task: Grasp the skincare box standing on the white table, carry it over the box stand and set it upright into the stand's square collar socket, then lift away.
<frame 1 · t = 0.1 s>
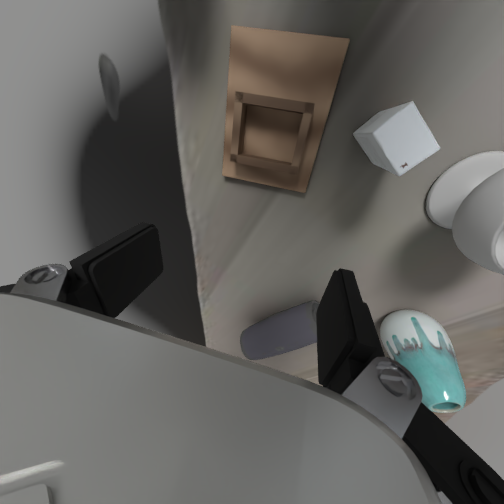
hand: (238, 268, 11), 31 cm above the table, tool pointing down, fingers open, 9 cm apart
chalice: (470, 193, 32), on the table
bluetooth speaker: (284, 315, 56), on the table
vase: (403, 320, 47), on the table
skincare box: (374, 138, 31), on the table
box stand: (274, 121, 33), on the table
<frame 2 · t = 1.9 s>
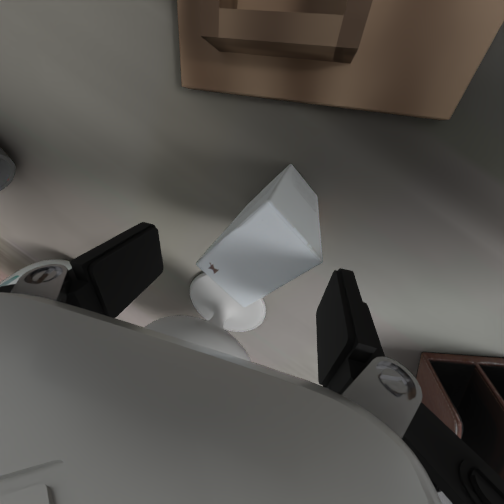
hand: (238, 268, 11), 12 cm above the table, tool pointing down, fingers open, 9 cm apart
letter holder: (452, 396, 29), on the table
chalice: (227, 301, 31), on the table
vase: (82, 276, 38), on the table
skincare box: (282, 199, 21), on the table
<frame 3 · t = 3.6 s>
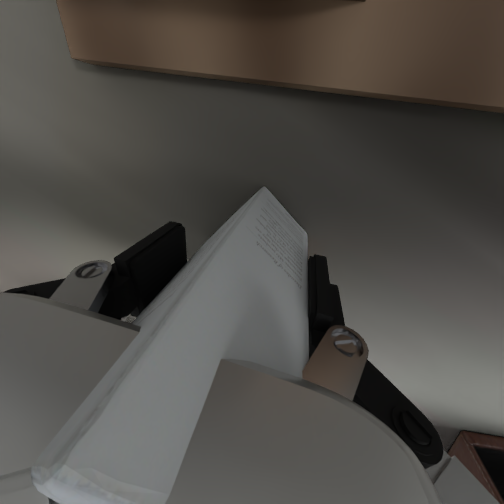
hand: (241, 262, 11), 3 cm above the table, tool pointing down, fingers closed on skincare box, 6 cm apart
letter holder: (489, 475, 22), on the table
skincare box: (256, 235, 14), on the table, touching gripper
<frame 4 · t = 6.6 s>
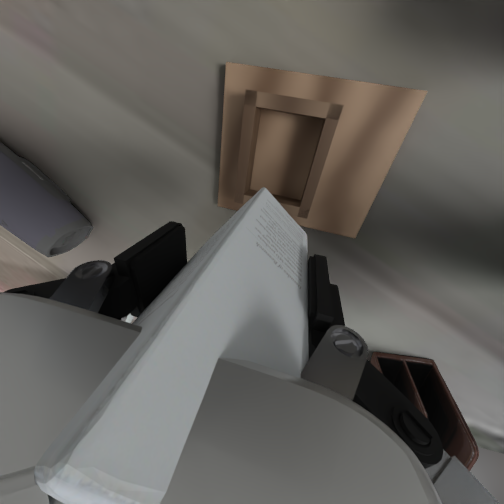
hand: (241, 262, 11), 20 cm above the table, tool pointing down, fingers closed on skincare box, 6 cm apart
letter holder: (389, 381, 43), on the table
bluetooth speaker: (47, 183, 37), on the table
skincare box: (256, 236, 14), point 16 cm above the table, touching gripper
box stand: (299, 160, 25), on the table
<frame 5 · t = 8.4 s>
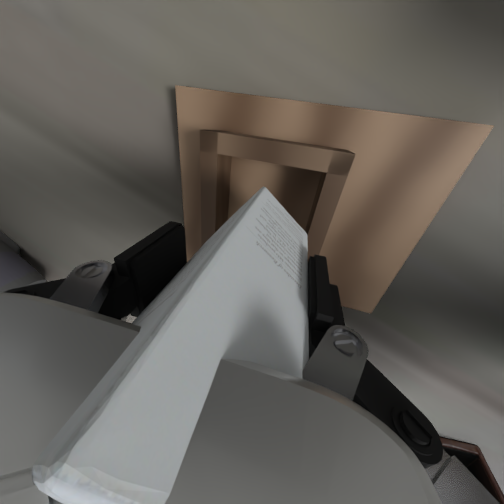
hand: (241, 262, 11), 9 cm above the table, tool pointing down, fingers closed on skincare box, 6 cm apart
letter holder: (414, 456, 35), on the table
skincare box: (256, 235, 14), point 6 cm above the table, touching gripper
box stand: (290, 213, 18), on the table
when the fingers open (6 cm above the table, at t = 9.9 s): skincare box drops 1 cm, resting on box stand.
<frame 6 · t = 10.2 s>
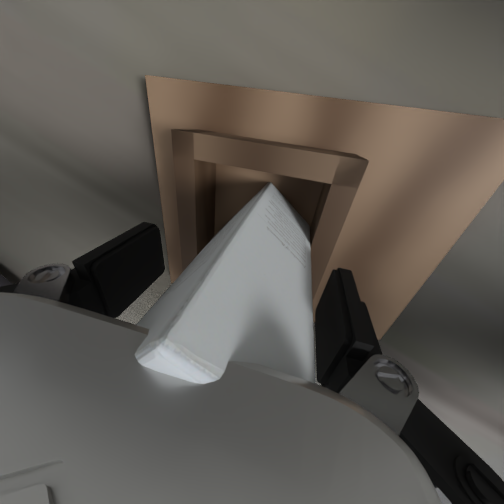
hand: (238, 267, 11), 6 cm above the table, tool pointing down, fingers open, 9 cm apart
skincare box: (262, 228, 15), point 1 cm above the table, touching box stand
box stand: (287, 227, 16), on the table
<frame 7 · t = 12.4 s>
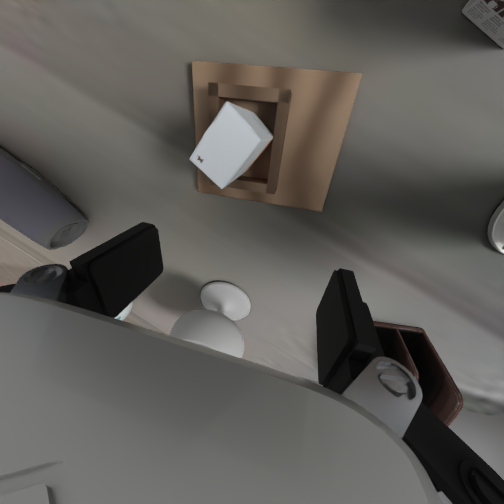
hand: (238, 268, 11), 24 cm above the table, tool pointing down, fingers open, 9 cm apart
letter holder: (379, 352, 45), on the table
chalice: (225, 300, 47), on the table
bluetooth speaker: (44, 184, 41), on the table
skincare box: (251, 142, 28), point 1 cm above the table, touching box stand
box stand: (265, 143, 29), on the table
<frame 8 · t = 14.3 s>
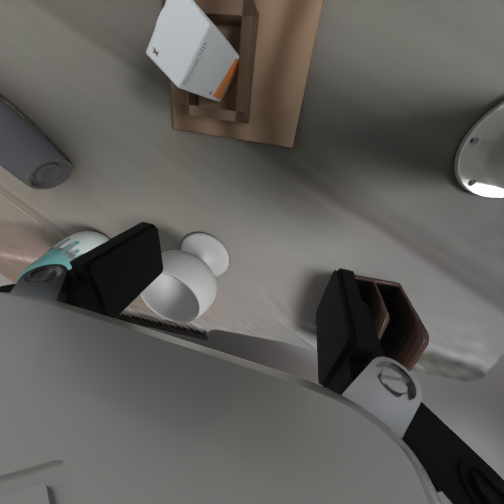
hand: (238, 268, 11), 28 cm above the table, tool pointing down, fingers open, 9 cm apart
letter holder: (356, 311, 46), on the table
chalice: (205, 254, 48), on the table
bluetooth speaker: (30, 127, 42), on the table
vase: (105, 245, 54), on the table
skincare box: (222, 71, 28), point 1 cm above the table, touching box stand
box stand: (237, 74, 29), on the table
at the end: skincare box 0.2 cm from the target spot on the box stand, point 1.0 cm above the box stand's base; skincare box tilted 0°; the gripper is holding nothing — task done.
